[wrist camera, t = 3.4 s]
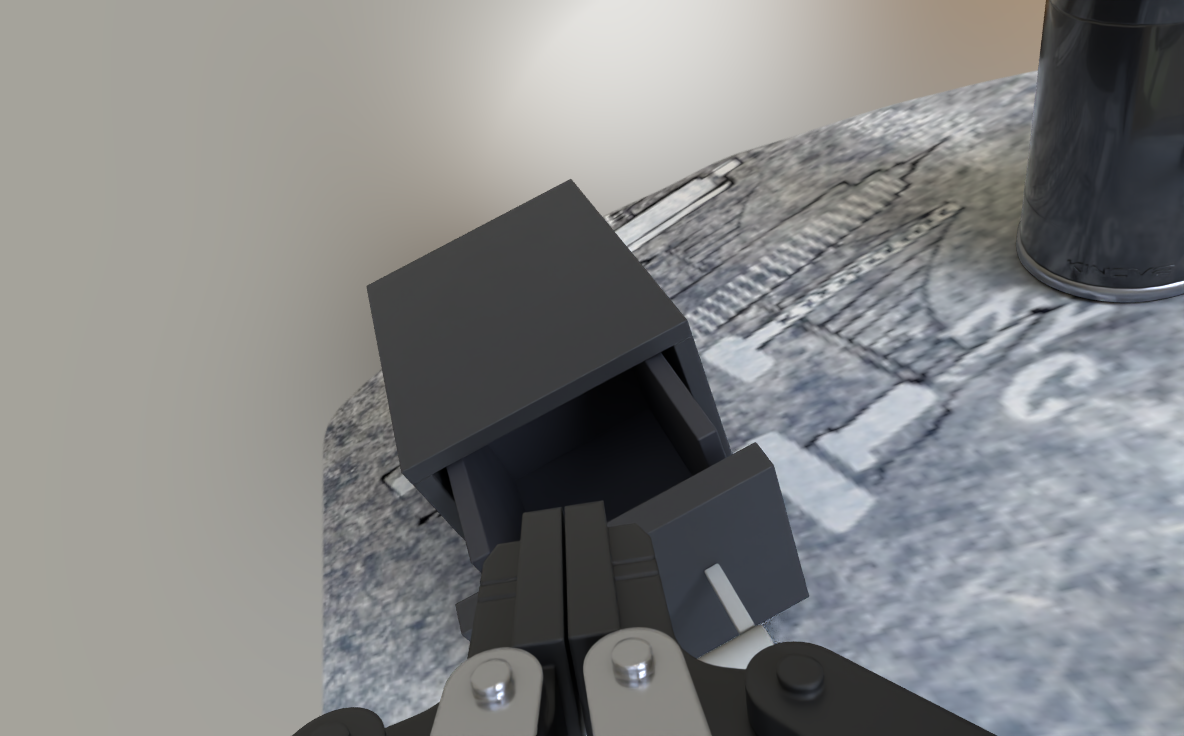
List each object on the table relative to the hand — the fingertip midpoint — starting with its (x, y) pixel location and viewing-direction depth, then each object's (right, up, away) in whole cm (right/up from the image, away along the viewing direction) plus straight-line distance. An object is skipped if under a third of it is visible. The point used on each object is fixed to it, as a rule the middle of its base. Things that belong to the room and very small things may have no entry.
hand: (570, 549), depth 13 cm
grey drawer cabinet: (0, -1, +28) cm, 28 cm away
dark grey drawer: (+3, -6, +20) cm, 21 cm away
